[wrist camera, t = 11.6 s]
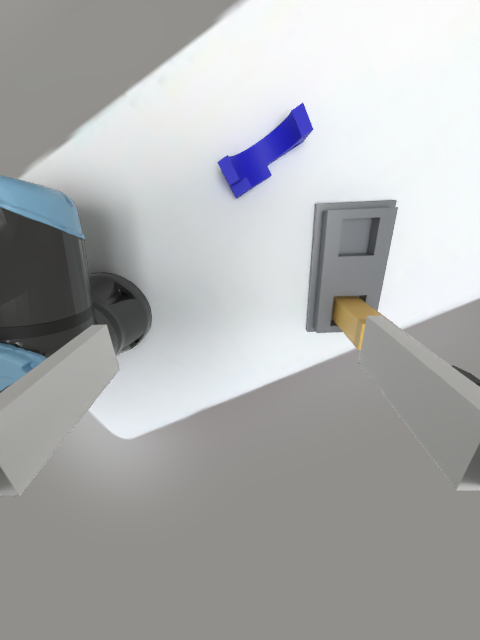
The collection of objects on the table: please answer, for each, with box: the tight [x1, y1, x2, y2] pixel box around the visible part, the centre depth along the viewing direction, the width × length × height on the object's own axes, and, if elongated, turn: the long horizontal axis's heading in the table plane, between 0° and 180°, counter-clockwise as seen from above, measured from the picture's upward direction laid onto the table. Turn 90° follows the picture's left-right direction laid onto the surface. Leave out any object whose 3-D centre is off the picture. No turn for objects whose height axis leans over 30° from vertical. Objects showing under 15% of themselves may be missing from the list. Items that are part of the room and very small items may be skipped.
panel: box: [306, 200, 398, 333], centre depth 41 cm, size 12×22×4 cm, turn 2°
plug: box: [331, 296, 393, 350], centre depth 39 cm, size 4×4×12 cm
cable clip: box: [218, 103, 313, 198], centre depth 34 cm, size 12×4×6 cm, turn 120°
